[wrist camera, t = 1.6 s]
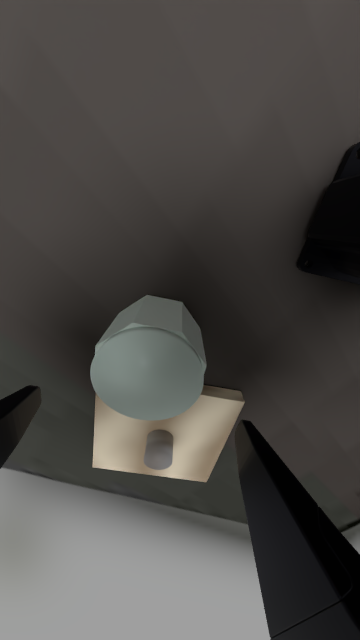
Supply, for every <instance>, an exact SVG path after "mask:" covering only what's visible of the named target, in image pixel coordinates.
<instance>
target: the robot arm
mask: <svg viewBox="0 0 360 640" xmlns="http://www.w3.org/2000/svg"><path fill="white" fill-rule="evenodd" d="M358 150H360V142H359V143H357V144H354V145H353V146H351V147H350V148H349V150H348V151H347V153H346V155H345V157H344V159H343V162H342V164H341V166H340V168H339V171H338V173H337V175H336V177H335V179H334V182H333V183H331V184H330V185H329V187H328V189H327V192H326V194H325V196H324V198H323V201H322V203H321V205H320V207H319V210H318V212H317V214H316V216H315V219H314V221H313V223H312V225H311V228H310V230H309V232H308V233H309V237H308V239H307V242H306V244H305V246H304V248H303V251H302V253H301V255H300V257H299V260H298V262H297V267H298V269H299V270H301V271H304V272H307V273H312V274H316V275H320V276H325V277H329V278H334V279H338V280H343V281H347V282H351V283H356V284H360V157H359V159H357V158H356V152H357V151H358ZM307 260H309V264H308V266H306V267H305V266H304V265H305V262H306V261H307ZM40 404H41V392H40V388H39V387H38V386H31V385H29V386H26V387H24V388H22V389H20V390H19V391H17V392H15V393H13V394H11V395H9V396H7V397H5V398H3V399H1V400H0V469H1V467H2V466H3V465H4V463H5V462H6V460H7V459H8V457H9V456H10V455H11V453H12V452H13V450H14V449H15V447H16V446H17V444H18V443H19V441H20V440H21V438H22V436H23V435H24V433H25V431H26V429H27V428H28V426H29V424H30V422H31V421H32V419H33V417H34V415H35V414H36V412H37V410H38V408H39V407H40ZM235 444H236V454H237V464H238V473H239V479H240V484H241V490H242V495H243V500H244V505H245V510H246V515H247V521H248V526H249V531H250V536H251V541H252V546H253V552H254V557H255V562H256V567H257V572H258V577H259V583H260V588H261V593H262V598H263V603H264V609H265V614H266V619H267V624H268V629H269V634H270V637H271V640H360V554H359V553H358V552H357V551H356V550H355V549H354V548H353V546H352V545H351V544H350V543H349V542H348V541H347V539H346V538H345V537H344V536H343V535H342V534H341V532H340V531H339V530H338V529H337V528H336V526H335V525H334V524H333V523H332V522H331V520H330V519H329V518H328V517H327V515H326V514H325V513H324V512H323V510H322V509H321V508H320V507H318V504H317V503H316V502H315V501H314V499H313V498H312V497H311V496H310V494H309V493H308V492H307V491H306V489H305V488H304V487H303V486H302V485H301V483H300V482H299V481H298V480H297V478H296V477H295V476H294V475H293V473H292V472H291V471H290V470H289V468H288V467H287V466H286V465H285V463H284V462H283V461H282V460H281V458H280V457H279V456H278V455H277V454H276V452H275V451H274V450H273V449H272V447H271V446H270V445H269V444H268V442H267V441H266V440H265V439H264V437H263V436H262V435H261V434H260V432H259V431H258V430H257V429H256V427H255V426H254V425H253V424H252V423H251V422H250V421H247V420H241V421H240V423H239V425H238V427H237V429H236V431H235Z"/></svg>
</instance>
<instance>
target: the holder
mask: <svg viewBox="0 0 360 640" xmlns="http://www.w3.org/2000/svg"><path fill="white" fill-rule="evenodd" d="M244 403H245V401H244V399H243V396H242V393H241V391H237V390H231V389H225V388H219V387H213V386H207V385H203V389H202V392H201V394H200V396H199V398H198V399H197V401H196V402H195V403H194V404H193V405H192V406H191V407H190V408H189V409H188V410H186V411H185V412H183V413H181V414H179V415H177V416H175V417H172V418H168V419H163V420H154V421H152V420H139V419H134V418H131V417H127V416H125V415H122V414H120V413H118V412H116V411H115V410H113V409H111V408H110V407H109V406H108V405H106V404H105V403H104V402H103V401H102V400H101V399H100V397H99V396H98V395H97V393H96V400H95V423H94V447H93V467H95V468H102V469H110V470H117V471H125V472H133V473H140V474H148V475H156V476H163V477H171V478H178V479H186V480H194V481H201V482H207V480H208V478H209V476H210V474H211V472H212V469H213V467H214V465H215V463H216V461H217V459H218V457H219V455H220V453H221V451H222V449H223V447H224V444H225V442H226V440H227V438H228V436H229V434H230V432H231V430H232V428H233V426H234V424H235V422H236V419H237V417H238V415H239V413H240V411H241V409H242V407H243V405H244Z"/></svg>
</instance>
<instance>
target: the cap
mask: <svg viewBox="0 0 360 640" xmlns="http://www.w3.org/2000/svg"><path fill="white" fill-rule="evenodd" d="M206 367H207V364H206V358H205V352H204V347H203V341H202V335H201V330H200V327H199V326H198V324H197V323H196V321H195V320H194V318H193V317H192V316H191V314H190V313H189V311H188V310H187V308H186V307H185V305H184V304H183V302H180V301H175V300H170V299H165V298H160V297H156V296H151V295H146V296H144V297H143V298H141V299H139V300H138V301H136V302H135V303H133V304H132V305H130V306H129V307H127V308H126V309H124V310H123V311H121V312H120V313H119V314H118V315H117V316H116V318H115V319H114V321H113V322H112V323H111V325H110V326H109V328H108V329H107V330H106V332H105V333H104V335H103V336H102V337H101V339H100V340H99V342H98V343H97V344H96V346H95V357H94V359H93V361H92V364H91V370H90V377H91V382H92V385H93V388H94V390H95V392H96V393H97V395H98V396H99V397H100V399H101V400H102V401H103V402H104V403H105V404H106V405H108V406H109V407H110V408H111V409H113V410H115V411H116V412H118V413H120V414H122V415H125V416H127V417H131V418H134V419H139V420H152V421H154V420H163V419H168V418H172V417H175V416H177V415H179V414H181V413H183V412H185V411H186V410H188V409H189V408H190V407H191V406H192V405H193V404H194V403H195V402H196V401H197V399H198V398H199V396H200V394H201V392H202V389H203V383H204V373H205V370H206Z"/></svg>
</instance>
